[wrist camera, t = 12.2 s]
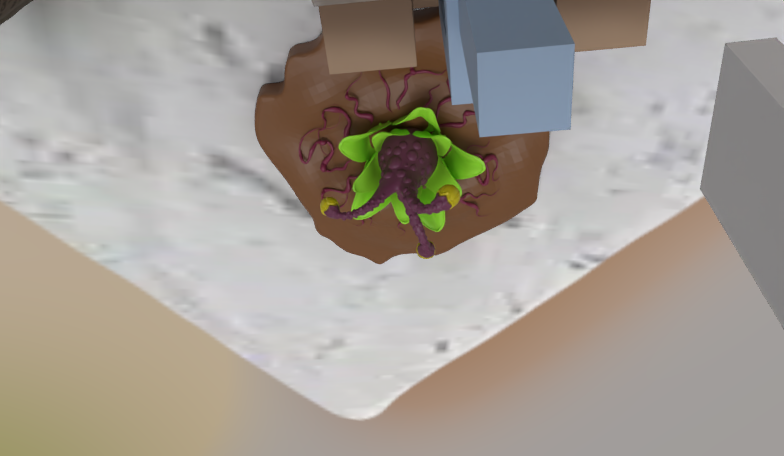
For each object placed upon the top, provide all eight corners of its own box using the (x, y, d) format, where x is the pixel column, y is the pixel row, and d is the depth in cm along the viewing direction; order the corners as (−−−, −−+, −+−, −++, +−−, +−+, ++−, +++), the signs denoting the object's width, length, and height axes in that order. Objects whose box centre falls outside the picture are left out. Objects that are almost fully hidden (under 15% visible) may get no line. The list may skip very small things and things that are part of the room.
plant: (577, 189, 57) (612, 284, 48) (352, 269, 62) (345, 369, 53) (489, -53, 46) (512, 11, 37) (223, 68, 51) (187, 151, 42)
